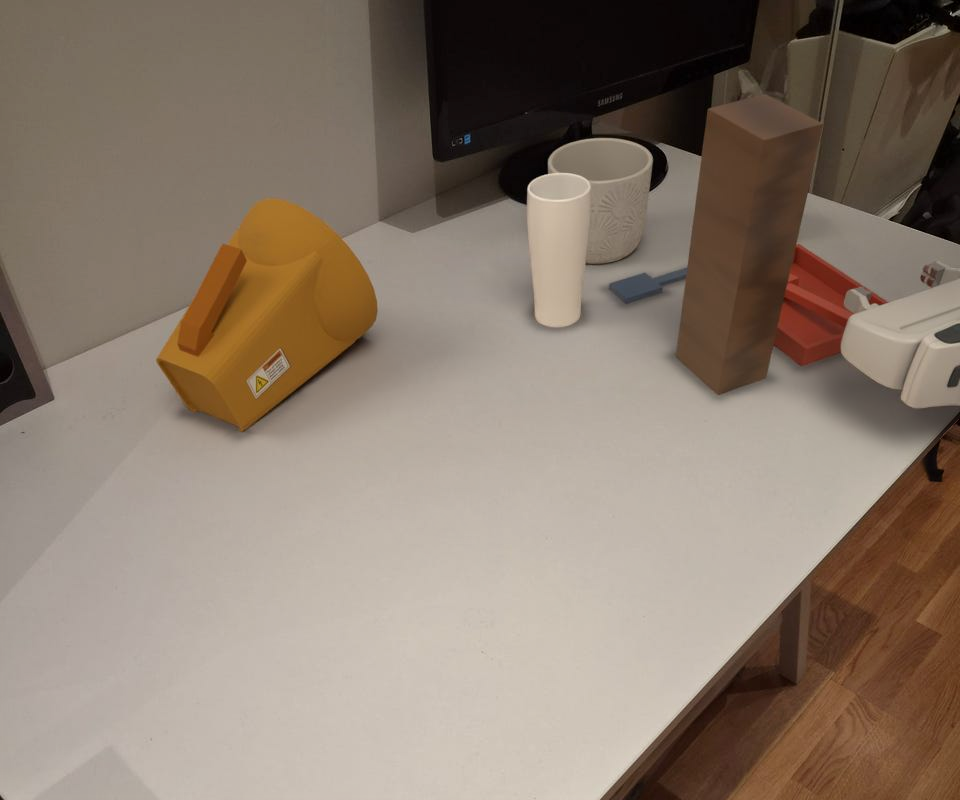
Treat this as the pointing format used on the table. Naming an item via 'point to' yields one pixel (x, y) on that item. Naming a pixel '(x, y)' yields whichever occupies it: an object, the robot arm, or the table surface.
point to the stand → (744, 237)
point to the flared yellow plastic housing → (268, 315)
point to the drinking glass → (558, 245)
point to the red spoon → (815, 302)
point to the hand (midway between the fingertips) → (889, 282)
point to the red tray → (805, 329)
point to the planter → (610, 192)
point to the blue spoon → (644, 285)
